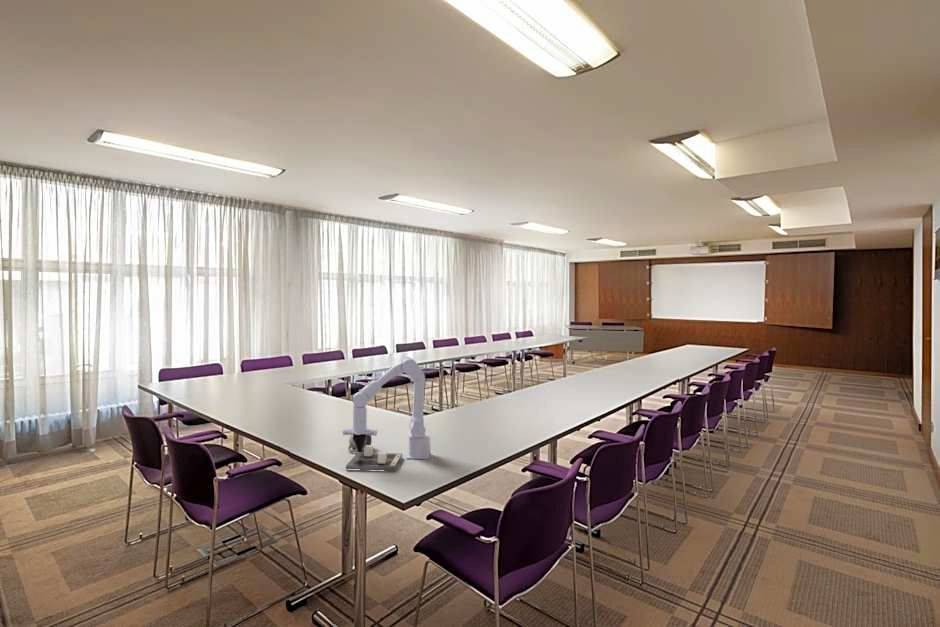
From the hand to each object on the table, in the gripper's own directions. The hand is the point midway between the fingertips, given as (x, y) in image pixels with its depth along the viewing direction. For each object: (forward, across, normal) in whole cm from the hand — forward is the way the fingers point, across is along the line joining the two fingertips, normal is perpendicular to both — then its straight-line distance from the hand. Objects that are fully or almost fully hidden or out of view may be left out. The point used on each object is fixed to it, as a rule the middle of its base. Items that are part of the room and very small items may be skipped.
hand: (360, 451), depth 201 cm
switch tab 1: (+2, +4, 0) cm, 4 cm away
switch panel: (+4, +8, -4) cm, 10 cm away
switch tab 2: (+2, +12, -8) cm, 14 cm away
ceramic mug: (+4, -5, +14) cm, 15 cm away
